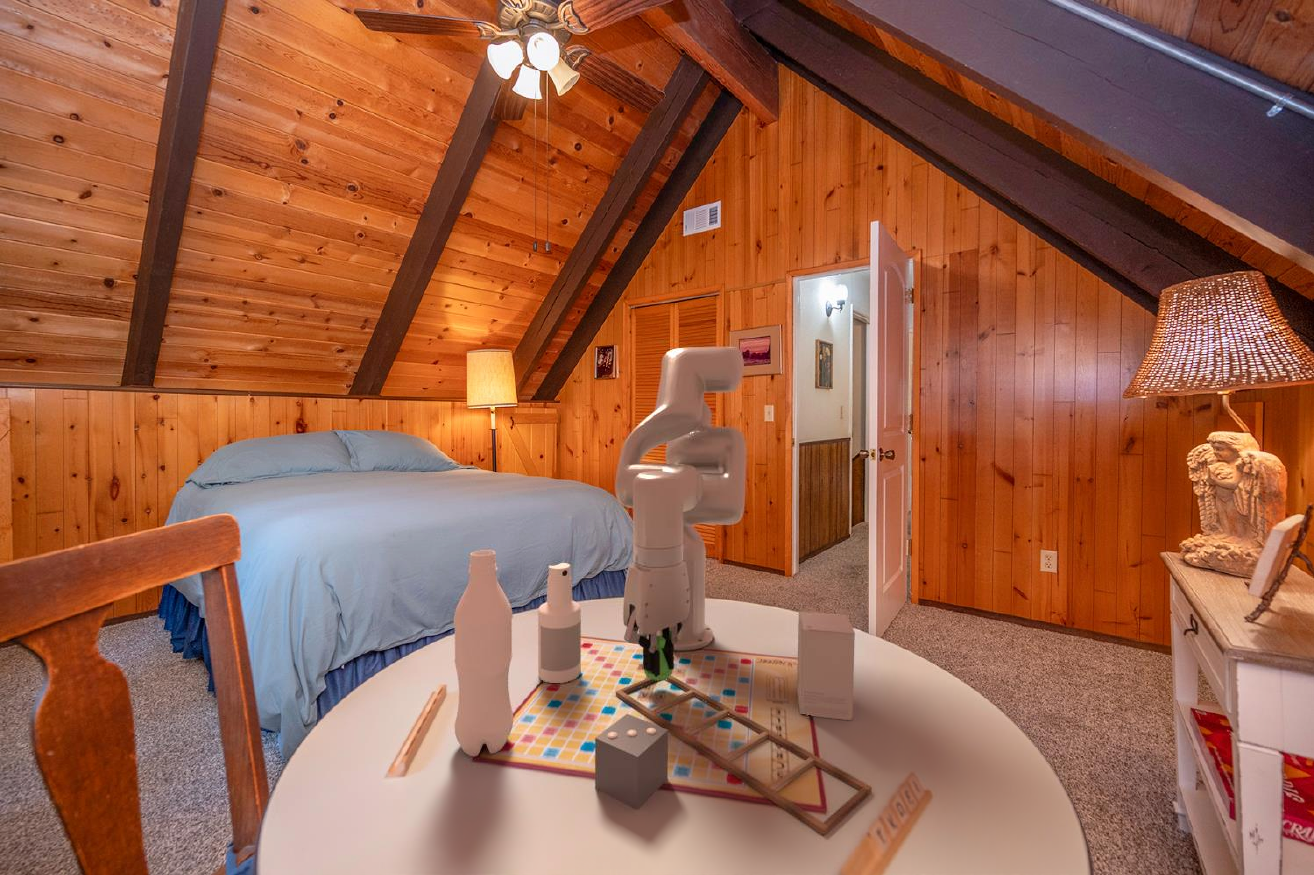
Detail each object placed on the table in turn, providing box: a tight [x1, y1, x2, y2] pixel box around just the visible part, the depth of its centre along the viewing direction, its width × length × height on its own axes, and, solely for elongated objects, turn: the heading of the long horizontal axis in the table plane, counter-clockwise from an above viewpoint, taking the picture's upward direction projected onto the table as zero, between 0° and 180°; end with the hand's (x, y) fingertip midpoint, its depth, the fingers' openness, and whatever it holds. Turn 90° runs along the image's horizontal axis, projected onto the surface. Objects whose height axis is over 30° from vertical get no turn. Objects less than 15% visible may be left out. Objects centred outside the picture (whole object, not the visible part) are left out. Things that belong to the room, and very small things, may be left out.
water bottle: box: [453, 549, 514, 757], centre depth 69 cm, size 7×7×25 cm
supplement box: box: [796, 611, 856, 721], centre depth 80 cm, size 7×7×13 cm
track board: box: [615, 674, 873, 837], centre depth 72 cm, size 36×10×1 cm, turn 41°
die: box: [594, 713, 669, 811], centre depth 63 cm, size 6×6×6 cm
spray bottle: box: [537, 562, 582, 684], centre depth 88 cm, size 7×7×18 cm
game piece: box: [643, 636, 673, 681], centre depth 83 cm, size 4×4×6 cm
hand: (658, 668), depth 84 cm, fingers closed on game piece, 2 cm apart
